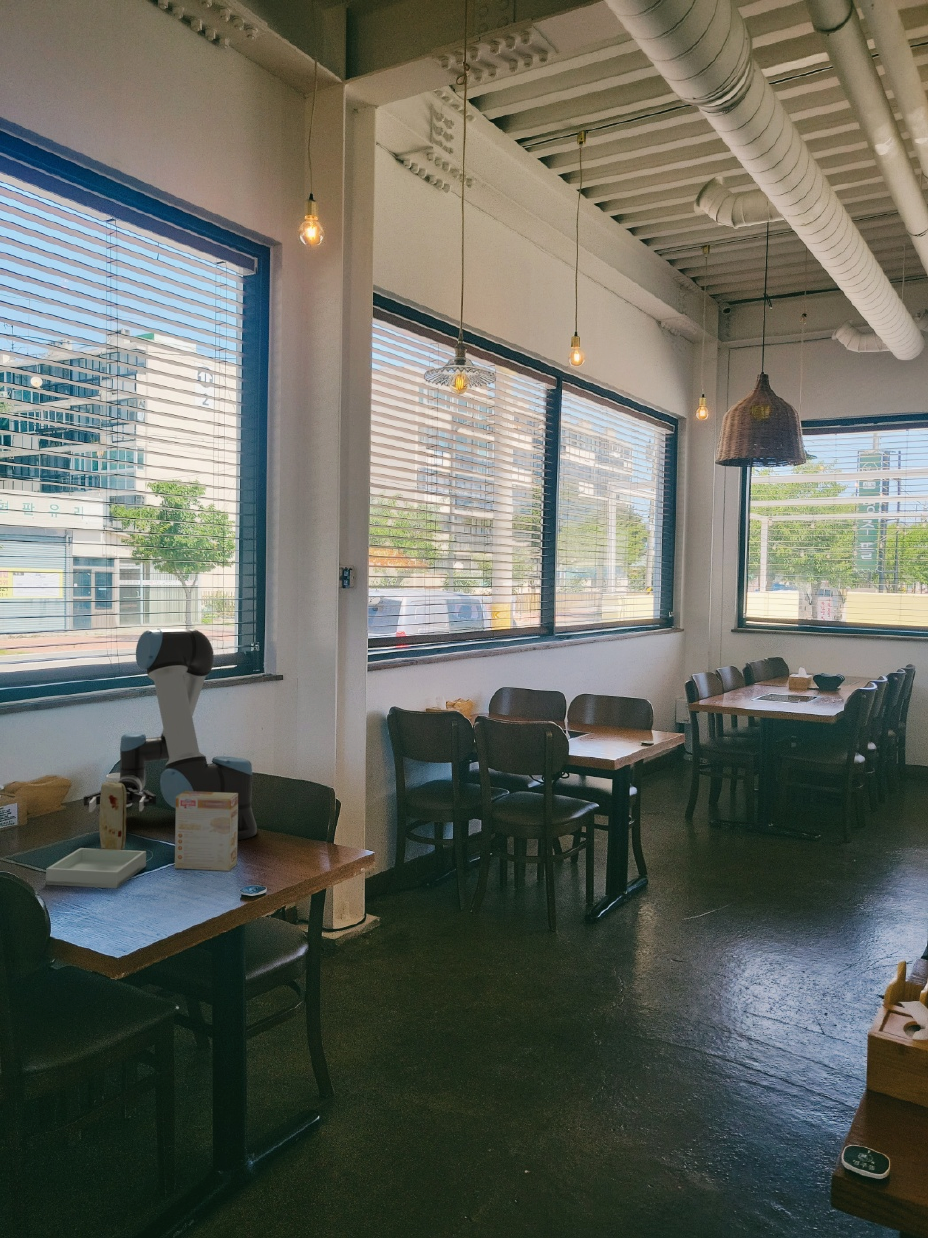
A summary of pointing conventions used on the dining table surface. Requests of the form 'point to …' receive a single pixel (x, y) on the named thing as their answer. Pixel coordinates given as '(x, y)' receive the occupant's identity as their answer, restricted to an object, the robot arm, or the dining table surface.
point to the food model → (112, 816)
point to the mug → (115, 780)
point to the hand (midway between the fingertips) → (115, 807)
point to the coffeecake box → (206, 830)
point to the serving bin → (96, 868)
